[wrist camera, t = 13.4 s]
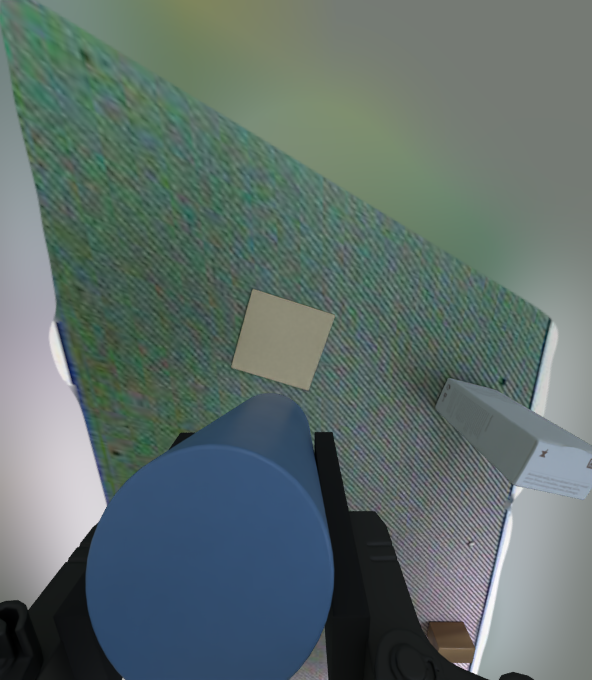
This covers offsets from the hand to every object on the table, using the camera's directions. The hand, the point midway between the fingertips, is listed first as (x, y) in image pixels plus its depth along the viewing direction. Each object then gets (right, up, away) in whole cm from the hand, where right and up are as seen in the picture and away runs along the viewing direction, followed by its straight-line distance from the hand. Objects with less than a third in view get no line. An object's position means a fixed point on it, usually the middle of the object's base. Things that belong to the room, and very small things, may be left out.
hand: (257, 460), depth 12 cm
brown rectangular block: (+24, -38, +30) cm, 54 cm away
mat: (0, +5, +18) cm, 19 cm away
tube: (-2, +2, -1) cm, 3 cm away
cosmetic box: (+21, -1, +20) cm, 29 cm away
